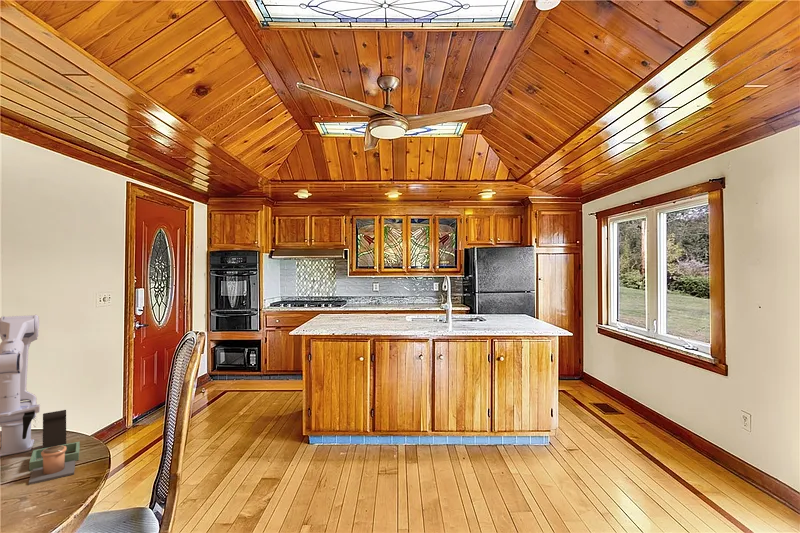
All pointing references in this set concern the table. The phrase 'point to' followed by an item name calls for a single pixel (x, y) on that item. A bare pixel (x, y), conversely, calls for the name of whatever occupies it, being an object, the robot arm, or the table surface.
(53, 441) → the phone stand
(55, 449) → the terracotta pot
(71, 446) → the frame
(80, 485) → the table surface
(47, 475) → the slate mat
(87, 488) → the table surface
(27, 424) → the robot arm
